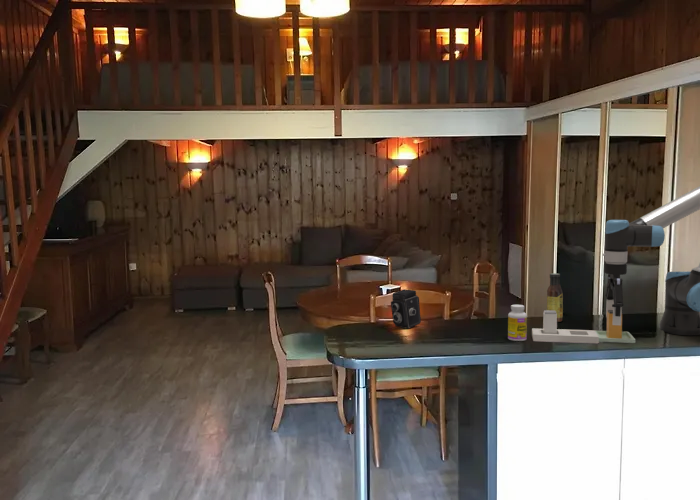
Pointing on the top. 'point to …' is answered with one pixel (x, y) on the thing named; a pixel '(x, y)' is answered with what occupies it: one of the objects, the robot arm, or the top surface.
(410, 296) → the camera
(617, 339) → the tray
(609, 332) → the plug
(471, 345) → the top surface
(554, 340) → the pdu strip
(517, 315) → the supplement bottle
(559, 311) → the sauce bottle
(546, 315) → the twin plug
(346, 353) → the top surface
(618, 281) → the robot arm
